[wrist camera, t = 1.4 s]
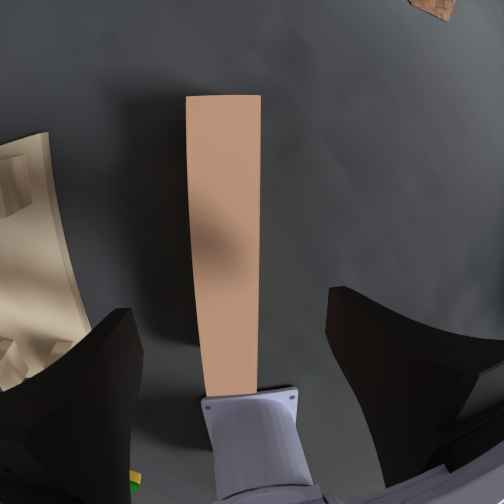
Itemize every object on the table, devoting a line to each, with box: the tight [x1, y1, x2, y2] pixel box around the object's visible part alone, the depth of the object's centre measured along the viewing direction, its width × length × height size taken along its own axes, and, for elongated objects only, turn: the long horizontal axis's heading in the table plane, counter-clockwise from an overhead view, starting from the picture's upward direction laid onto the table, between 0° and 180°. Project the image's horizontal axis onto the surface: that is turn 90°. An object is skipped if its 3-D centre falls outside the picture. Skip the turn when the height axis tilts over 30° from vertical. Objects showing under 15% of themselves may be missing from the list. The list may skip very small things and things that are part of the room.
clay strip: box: [186, 95, 261, 397], centre depth 17 cm, size 16×3×5 cm, turn 0°
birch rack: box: [0, 132, 91, 391], centre depth 16 cm, size 18×10×4 cm, turn 3°
